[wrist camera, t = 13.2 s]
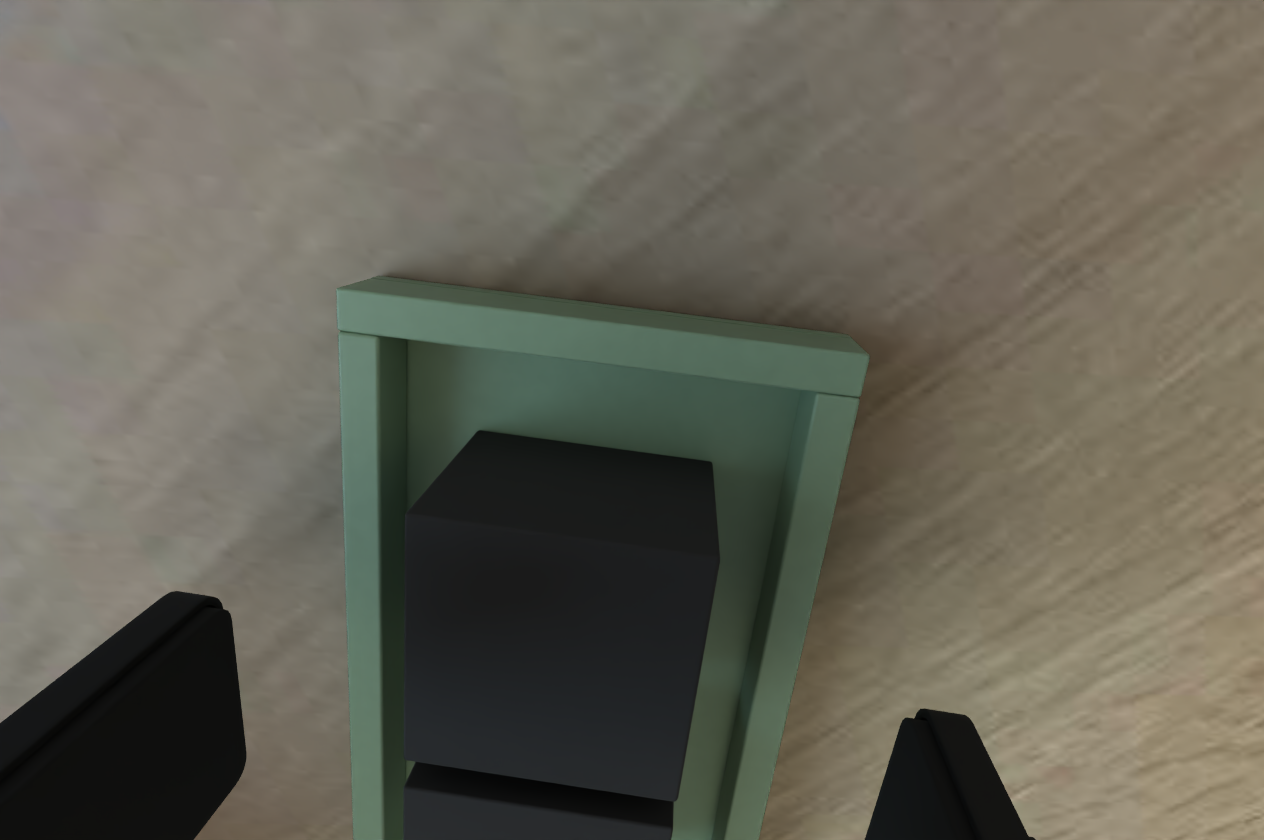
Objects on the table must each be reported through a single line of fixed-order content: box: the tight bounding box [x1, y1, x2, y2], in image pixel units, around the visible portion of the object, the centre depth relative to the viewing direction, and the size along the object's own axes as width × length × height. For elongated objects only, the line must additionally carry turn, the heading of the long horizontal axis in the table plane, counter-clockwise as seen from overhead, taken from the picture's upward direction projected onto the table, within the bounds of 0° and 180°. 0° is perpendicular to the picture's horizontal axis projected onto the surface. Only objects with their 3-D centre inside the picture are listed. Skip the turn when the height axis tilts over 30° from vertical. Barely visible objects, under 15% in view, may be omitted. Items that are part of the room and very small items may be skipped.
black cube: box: [404, 430, 720, 802], centre depth 13 cm, size 5×5×4 cm
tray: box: [336, 276, 870, 840], centre depth 16 cm, size 16×10×2 cm, turn 174°
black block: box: [403, 762, 674, 840], centre depth 15 cm, size 5×5×4 cm
